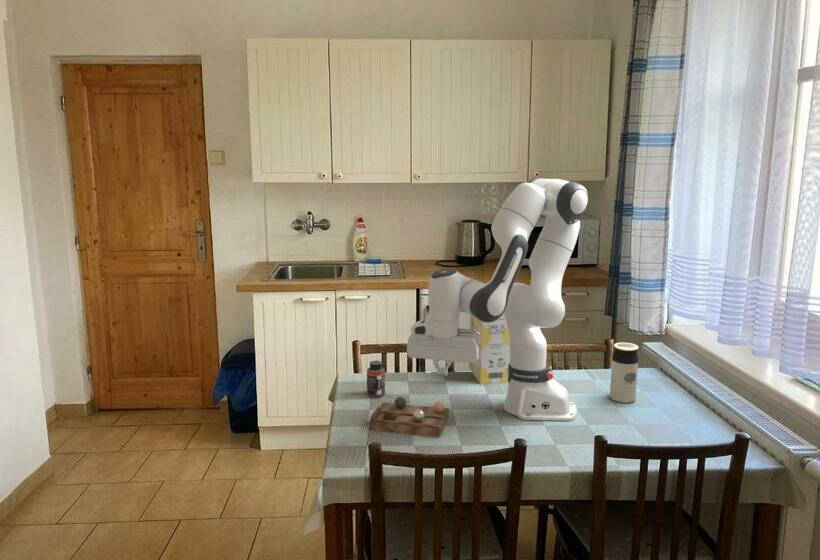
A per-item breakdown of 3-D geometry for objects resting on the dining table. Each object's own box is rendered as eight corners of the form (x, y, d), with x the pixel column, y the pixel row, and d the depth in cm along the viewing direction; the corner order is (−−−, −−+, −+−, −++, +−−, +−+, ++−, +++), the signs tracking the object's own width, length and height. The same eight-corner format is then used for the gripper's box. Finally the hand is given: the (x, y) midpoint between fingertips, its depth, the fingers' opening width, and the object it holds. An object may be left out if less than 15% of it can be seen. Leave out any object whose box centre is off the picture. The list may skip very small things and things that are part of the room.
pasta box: (510, 382, 227) (512, 304, 221) (480, 384, 226) (482, 305, 220) (496, 365, 245) (498, 292, 239) (469, 366, 243) (470, 293, 238)
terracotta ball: (445, 410, 197) (445, 399, 197) (443, 415, 194) (443, 404, 193) (434, 409, 198) (434, 398, 197) (432, 413, 195) (432, 402, 194)
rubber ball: (407, 406, 200) (407, 395, 200) (404, 410, 197) (404, 399, 196) (396, 405, 201) (396, 394, 201) (393, 409, 198) (393, 398, 197)
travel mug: (606, 394, 217) (610, 342, 213) (631, 394, 216) (634, 342, 213) (613, 403, 209) (617, 349, 205) (638, 403, 209) (642, 349, 205)
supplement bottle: (384, 398, 213) (384, 365, 211) (366, 398, 213) (365, 365, 211) (385, 391, 219) (385, 359, 217) (367, 391, 219) (367, 359, 217)
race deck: (449, 416, 199) (449, 403, 198) (439, 437, 185) (439, 424, 184) (382, 409, 204) (382, 397, 203) (368, 429, 190) (368, 417, 189)
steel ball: (425, 419, 191) (425, 407, 190) (423, 424, 188) (423, 412, 187) (414, 417, 192) (414, 406, 191) (411, 422, 189) (411, 411, 188)
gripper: (481, 327, 183) (480, 374, 186) (410, 321, 188) (410, 367, 190) (478, 333, 177) (477, 381, 180) (405, 327, 182) (405, 374, 184)
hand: (442, 374), depth 185 cm, fingers closed
